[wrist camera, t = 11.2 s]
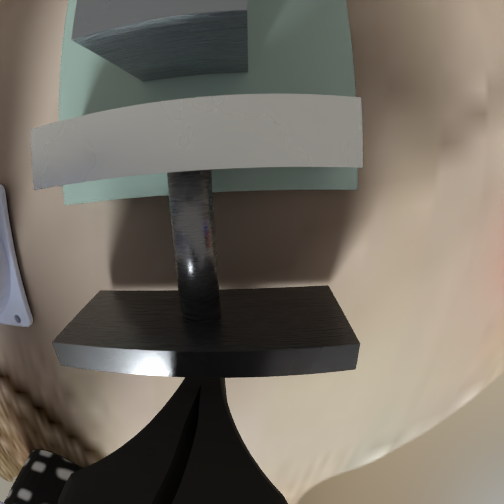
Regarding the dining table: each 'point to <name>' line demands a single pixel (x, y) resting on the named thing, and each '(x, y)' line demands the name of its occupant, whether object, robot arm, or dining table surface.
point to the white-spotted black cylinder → (41, 479)
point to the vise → (224, 92)
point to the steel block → (165, 36)
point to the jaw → (204, 235)
